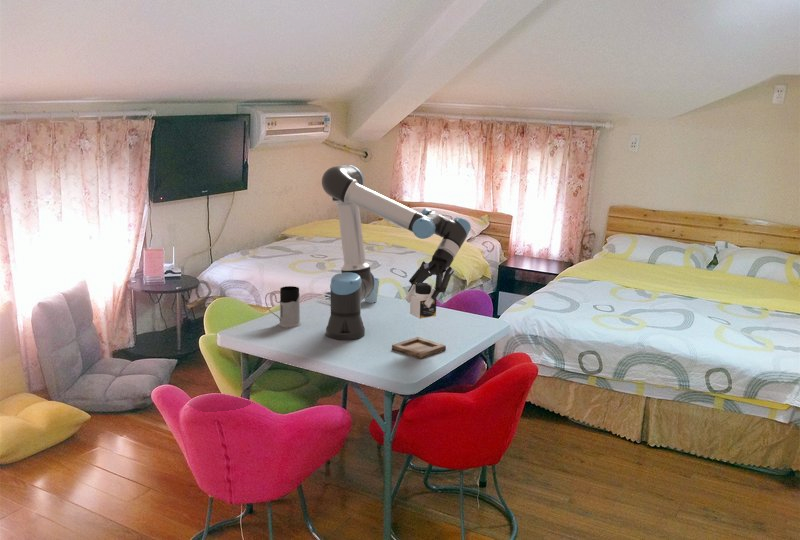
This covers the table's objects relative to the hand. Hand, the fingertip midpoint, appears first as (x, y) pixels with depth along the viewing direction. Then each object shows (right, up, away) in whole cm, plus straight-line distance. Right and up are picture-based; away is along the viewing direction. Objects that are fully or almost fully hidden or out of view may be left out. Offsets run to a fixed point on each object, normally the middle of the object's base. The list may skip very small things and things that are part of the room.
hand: (417, 303), depth 255 cm
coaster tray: (+1, -17, +3) cm, 18 cm away
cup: (-20, -3, +67) cm, 70 cm away
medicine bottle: (+2, -5, +4) cm, 6 cm away
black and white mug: (-53, -10, +28) cm, 61 cm away
